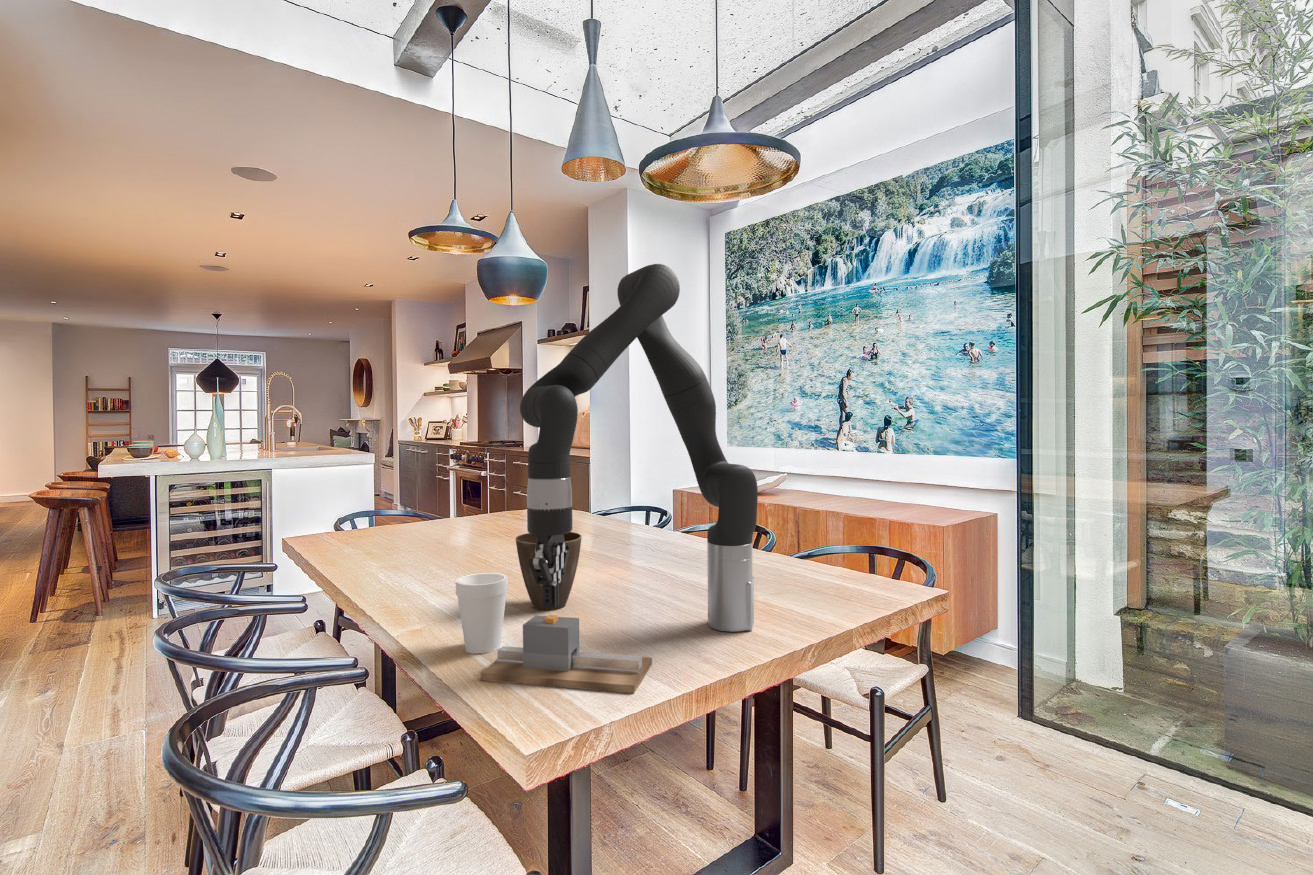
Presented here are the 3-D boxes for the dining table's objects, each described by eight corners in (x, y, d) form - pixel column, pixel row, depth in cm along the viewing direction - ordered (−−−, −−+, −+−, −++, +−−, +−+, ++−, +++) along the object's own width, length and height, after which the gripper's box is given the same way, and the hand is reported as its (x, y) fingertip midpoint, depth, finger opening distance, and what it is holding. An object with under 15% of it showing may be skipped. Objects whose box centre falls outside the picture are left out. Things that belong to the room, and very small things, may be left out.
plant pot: (594, 607, 146) (593, 537, 146) (533, 620, 138) (532, 545, 137) (563, 593, 159) (563, 528, 158) (506, 604, 150) (505, 535, 149)
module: (579, 659, 111) (579, 613, 111) (568, 671, 106) (568, 623, 106) (536, 656, 113) (535, 610, 113) (523, 667, 108) (522, 620, 108)
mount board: (651, 664, 112) (651, 657, 112) (634, 693, 100) (634, 685, 100) (512, 653, 118) (512, 647, 118) (480, 679, 106) (480, 672, 106)
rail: (642, 667, 108) (642, 655, 108) (638, 673, 105) (638, 661, 105) (503, 656, 113) (503, 645, 113) (496, 662, 110) (496, 650, 110)
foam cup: (481, 660, 115) (479, 587, 114) (445, 650, 120) (444, 581, 119) (519, 644, 123) (517, 576, 122) (484, 636, 128) (483, 570, 127)
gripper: (555, 510, 102) (557, 619, 102) (583, 499, 115) (585, 597, 115) (511, 509, 103) (513, 617, 104) (544, 499, 116) (545, 594, 117)
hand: (551, 606), depth 109 cm, fingers closed
